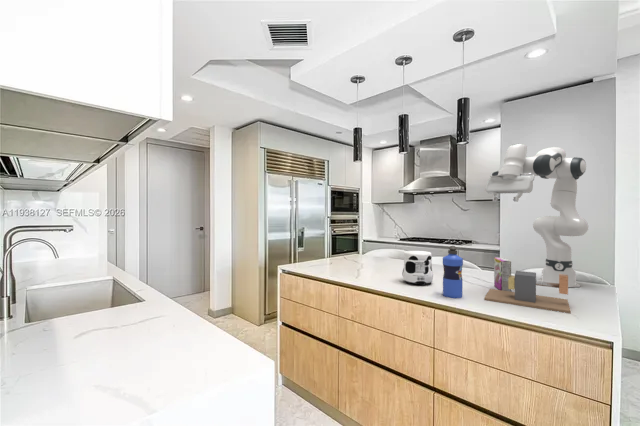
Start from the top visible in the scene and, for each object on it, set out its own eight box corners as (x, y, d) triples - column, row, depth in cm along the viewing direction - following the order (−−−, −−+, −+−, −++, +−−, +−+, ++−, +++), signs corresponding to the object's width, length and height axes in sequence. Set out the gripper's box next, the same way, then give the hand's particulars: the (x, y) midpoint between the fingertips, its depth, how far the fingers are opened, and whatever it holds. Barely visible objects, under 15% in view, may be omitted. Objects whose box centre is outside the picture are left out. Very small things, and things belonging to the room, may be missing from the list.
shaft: (503, 284, 151) (503, 268, 151) (567, 292, 136) (567, 274, 136) (502, 286, 147) (503, 269, 147) (567, 294, 133) (568, 276, 133)
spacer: (509, 286, 150) (509, 275, 150) (515, 287, 149) (515, 275, 148) (508, 288, 146) (508, 277, 145) (514, 289, 144) (514, 277, 144)
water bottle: (439, 295, 152) (439, 246, 152) (446, 291, 159) (446, 244, 159) (459, 299, 146) (459, 247, 146) (465, 295, 153) (465, 245, 153)
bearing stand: (489, 290, 161) (490, 266, 161) (567, 301, 143) (567, 273, 142) (484, 300, 145) (484, 272, 145) (570, 313, 126) (571, 282, 126)
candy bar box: (493, 286, 170) (493, 257, 170) (503, 286, 169) (503, 257, 169) (501, 291, 159) (501, 260, 159) (511, 292, 158) (511, 261, 158)
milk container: (415, 278, 191) (415, 249, 191) (439, 283, 177) (439, 252, 176) (396, 281, 182) (396, 251, 182) (419, 288, 167) (419, 255, 167)
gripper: (538, 176, 140) (532, 203, 138) (493, 178, 158) (487, 203, 155) (532, 170, 137) (525, 198, 135) (487, 173, 154) (480, 198, 152)
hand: (504, 201), depth 145 cm, fingers open, 8 cm apart
